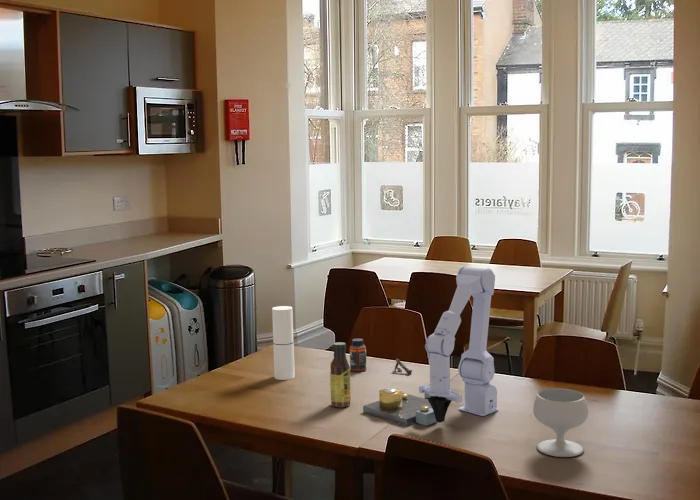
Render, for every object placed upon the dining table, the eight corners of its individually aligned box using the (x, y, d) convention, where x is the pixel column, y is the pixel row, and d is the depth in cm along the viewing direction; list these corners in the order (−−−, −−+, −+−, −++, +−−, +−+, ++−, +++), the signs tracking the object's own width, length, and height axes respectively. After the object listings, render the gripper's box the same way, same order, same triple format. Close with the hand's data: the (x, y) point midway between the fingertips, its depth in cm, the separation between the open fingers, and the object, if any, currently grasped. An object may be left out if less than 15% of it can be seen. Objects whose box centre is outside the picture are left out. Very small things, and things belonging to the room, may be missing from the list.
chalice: (578, 439, 220) (578, 385, 218) (595, 458, 206) (596, 402, 204) (527, 441, 219) (527, 387, 217) (541, 460, 205) (541, 404, 203)
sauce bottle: (348, 409, 250) (347, 346, 247) (328, 408, 251) (327, 345, 248) (352, 402, 256) (351, 341, 253) (333, 401, 257) (331, 340, 255)
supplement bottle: (369, 368, 294) (369, 338, 293) (361, 372, 289) (360, 342, 288) (355, 366, 297) (355, 336, 296) (347, 370, 292) (346, 340, 291)
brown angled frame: (395, 366, 293) (398, 356, 291) (409, 379, 288) (412, 369, 286) (391, 367, 292) (394, 357, 290) (405, 380, 287) (408, 370, 285)
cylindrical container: (271, 379, 284) (268, 309, 281) (279, 373, 291) (276, 305, 288) (290, 380, 282) (288, 310, 279) (297, 374, 289) (295, 306, 285)
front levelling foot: (444, 397, 258) (444, 384, 257) (436, 400, 255) (436, 387, 255) (432, 394, 262) (432, 381, 261) (424, 397, 259) (424, 383, 258)
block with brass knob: (437, 421, 236) (437, 406, 235) (426, 425, 232) (426, 411, 232) (427, 418, 239) (427, 404, 238) (416, 422, 235) (415, 408, 235)
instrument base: (446, 411, 246) (446, 387, 245) (406, 425, 233) (406, 401, 232) (403, 398, 258) (402, 376, 258) (363, 412, 246) (362, 389, 245)
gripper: (411, 373, 232) (412, 419, 234) (450, 383, 222) (450, 431, 224) (427, 368, 237) (428, 413, 239) (466, 378, 227) (466, 424, 228)
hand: (440, 421), depth 232 cm, fingers closed
